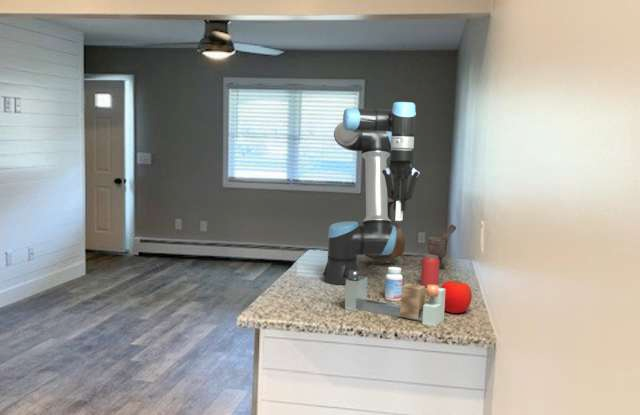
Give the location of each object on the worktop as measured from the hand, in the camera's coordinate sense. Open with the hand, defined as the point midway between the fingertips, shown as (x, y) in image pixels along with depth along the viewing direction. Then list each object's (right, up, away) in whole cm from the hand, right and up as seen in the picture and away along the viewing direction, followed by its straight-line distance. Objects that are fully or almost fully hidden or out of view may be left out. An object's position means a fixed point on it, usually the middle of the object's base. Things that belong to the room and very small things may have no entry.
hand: (398, 220), depth 201 cm
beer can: (+16, -27, +34) cm, 46 cm away
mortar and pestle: (+28, -23, +70) cm, 78 cm away
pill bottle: (0, -28, +12) cm, 31 cm away
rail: (-5, -30, -6) cm, 31 cm away
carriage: (+3, -31, -10) cm, 33 cm away
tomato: (+18, -31, -2) cm, 36 cm away
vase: (+2, -22, +73) cm, 76 cm away
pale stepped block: (+9, -31, -14) cm, 35 cm away
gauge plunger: (+8, -25, -16) cm, 31 cm away
